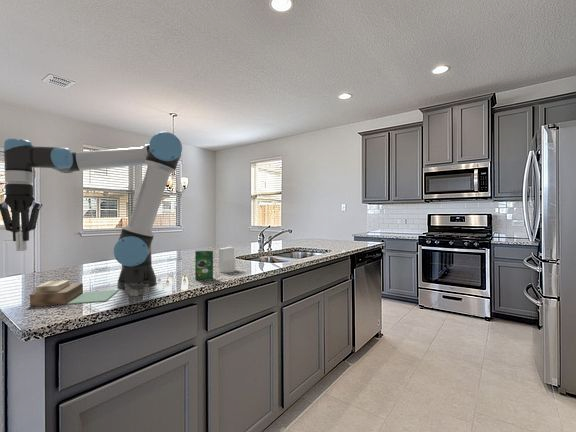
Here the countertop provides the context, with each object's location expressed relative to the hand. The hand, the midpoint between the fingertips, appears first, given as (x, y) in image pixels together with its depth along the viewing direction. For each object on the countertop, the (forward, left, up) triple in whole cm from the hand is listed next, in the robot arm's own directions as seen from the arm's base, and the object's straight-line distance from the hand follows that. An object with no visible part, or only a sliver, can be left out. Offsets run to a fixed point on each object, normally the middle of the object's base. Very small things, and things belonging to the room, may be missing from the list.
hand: (21, 250), depth 112 cm
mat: (-23, 0, -18) cm, 29 cm away
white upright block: (-73, -37, -19) cm, 84 cm away
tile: (-10, 0, -14) cm, 17 cm away
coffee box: (-62, -20, -19) cm, 68 cm away
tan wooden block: (-11, 0, -18) cm, 21 cm away
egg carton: (-37, -2, -19) cm, 42 cm away
